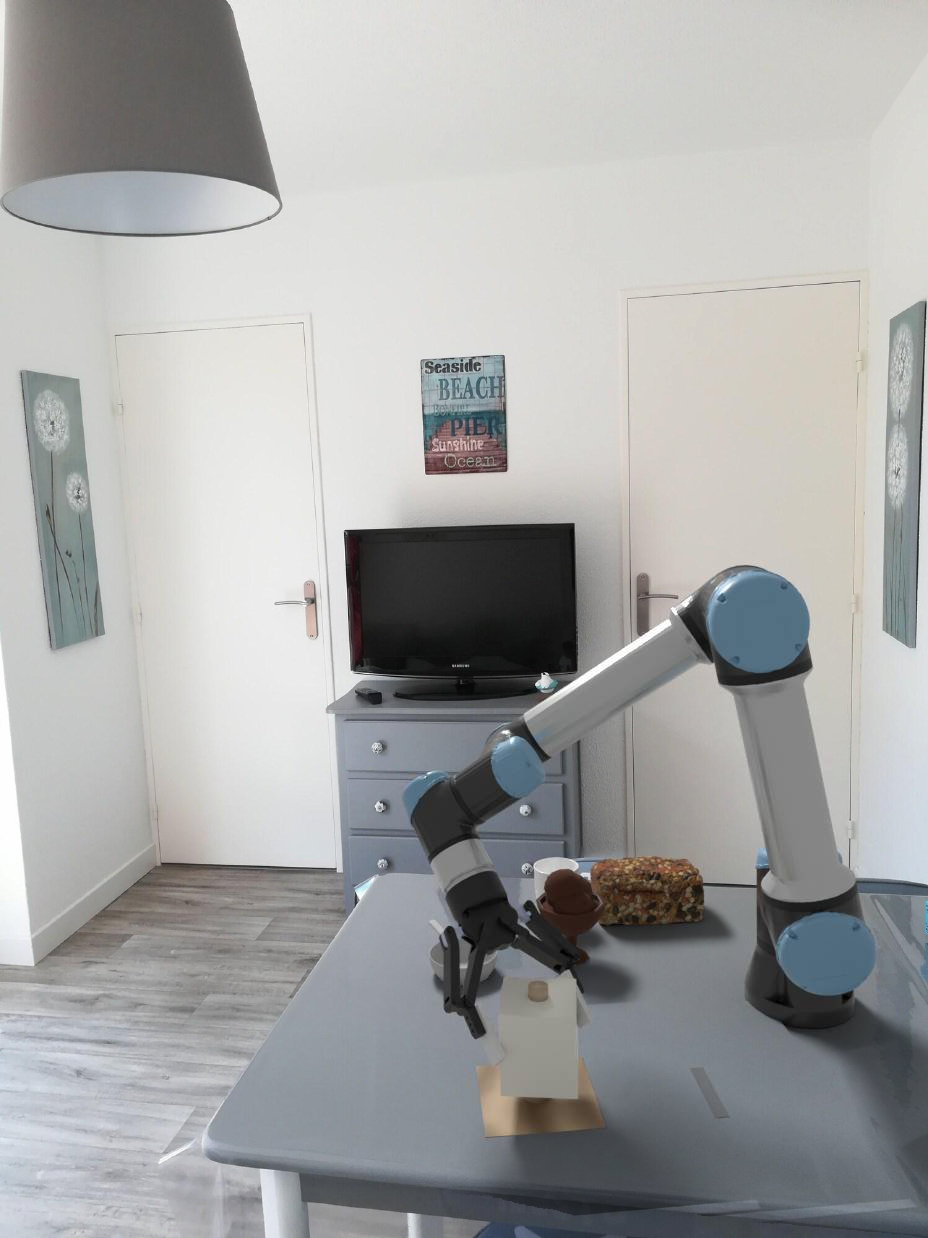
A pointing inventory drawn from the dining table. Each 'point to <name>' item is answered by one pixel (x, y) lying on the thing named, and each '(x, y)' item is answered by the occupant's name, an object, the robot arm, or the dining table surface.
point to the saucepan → (437, 958)
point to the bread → (648, 890)
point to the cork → (536, 1100)
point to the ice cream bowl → (570, 905)
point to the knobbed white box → (539, 1038)
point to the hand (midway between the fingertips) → (544, 1043)
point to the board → (535, 1108)
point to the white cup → (550, 871)
